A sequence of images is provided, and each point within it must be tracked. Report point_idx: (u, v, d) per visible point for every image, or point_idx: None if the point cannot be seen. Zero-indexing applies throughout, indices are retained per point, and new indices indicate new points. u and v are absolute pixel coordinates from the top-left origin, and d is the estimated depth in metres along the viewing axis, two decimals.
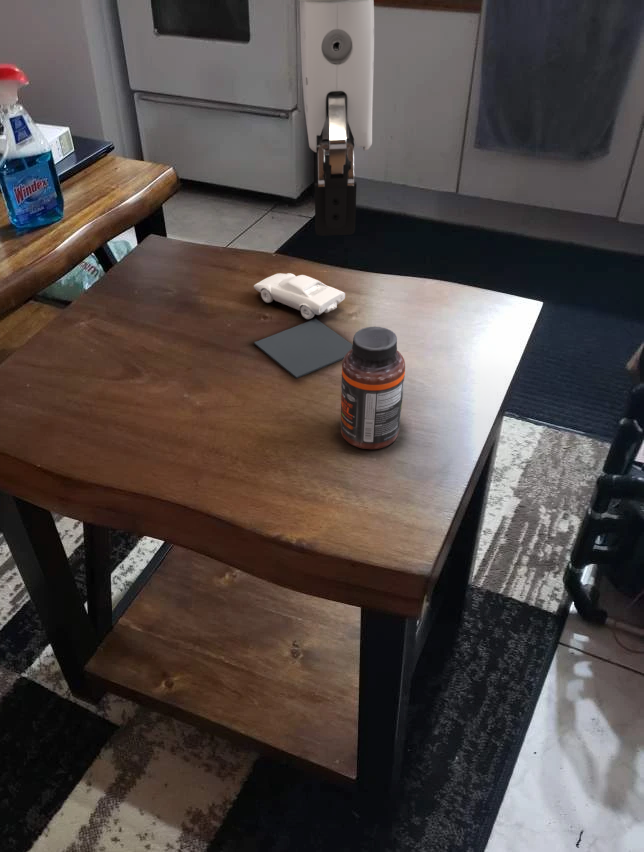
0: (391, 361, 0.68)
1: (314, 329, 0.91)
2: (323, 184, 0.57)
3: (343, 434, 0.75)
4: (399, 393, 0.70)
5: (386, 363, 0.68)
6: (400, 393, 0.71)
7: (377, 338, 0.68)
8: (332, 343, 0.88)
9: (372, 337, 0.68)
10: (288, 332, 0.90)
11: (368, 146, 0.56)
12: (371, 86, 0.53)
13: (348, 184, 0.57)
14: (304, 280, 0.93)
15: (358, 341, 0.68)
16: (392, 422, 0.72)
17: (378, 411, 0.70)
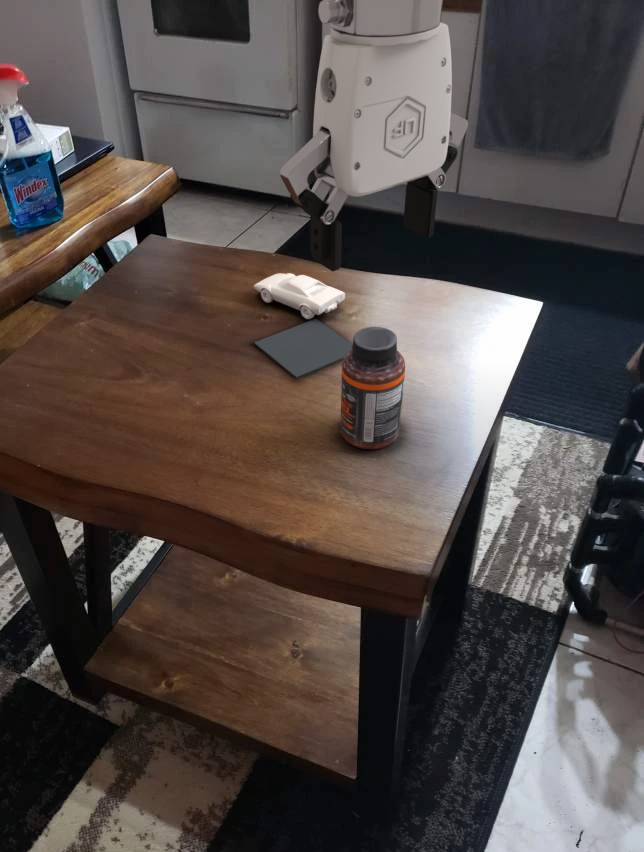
0: (391, 361, 0.68)
1: (314, 329, 0.91)
2: (306, 211, 0.58)
3: (343, 434, 0.75)
4: (399, 393, 0.70)
5: (386, 363, 0.68)
6: (400, 393, 0.71)
7: (377, 338, 0.68)
8: (332, 343, 0.88)
9: (372, 337, 0.68)
10: (288, 332, 0.90)
11: (348, 192, 0.55)
12: (351, 133, 0.52)
13: (320, 220, 0.57)
14: (304, 280, 0.93)
15: (358, 341, 0.68)
16: (392, 422, 0.72)
17: (378, 411, 0.70)
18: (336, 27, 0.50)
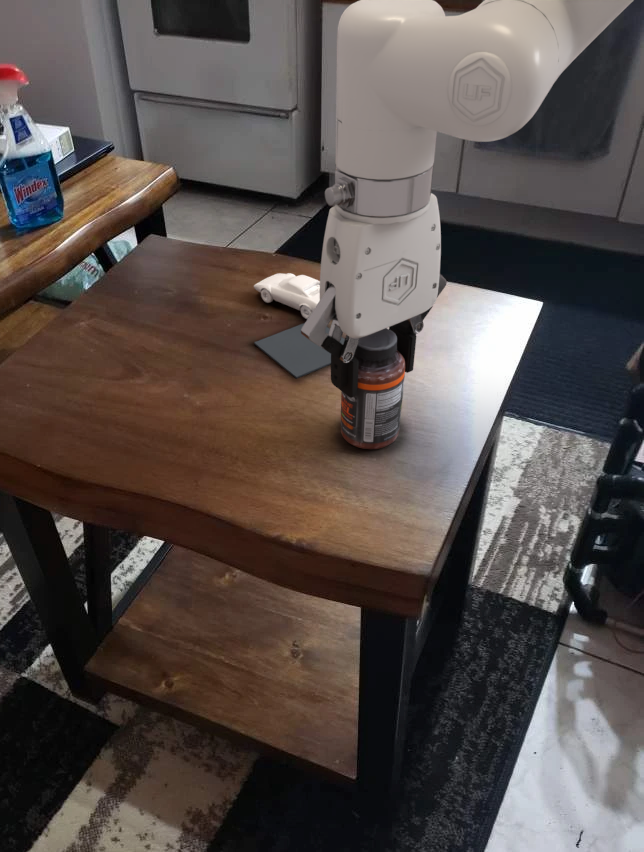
0: (391, 360, 0.68)
1: None
2: None
3: (343, 434, 0.75)
4: (399, 393, 0.70)
5: (386, 362, 0.68)
6: (400, 393, 0.71)
7: (377, 338, 0.68)
8: None
9: (372, 337, 0.68)
10: (288, 332, 0.90)
11: (350, 336, 0.63)
12: (353, 292, 0.60)
13: (341, 360, 0.66)
14: (304, 280, 0.93)
15: None
16: (392, 422, 0.72)
17: (378, 410, 0.70)
18: (340, 205, 0.58)
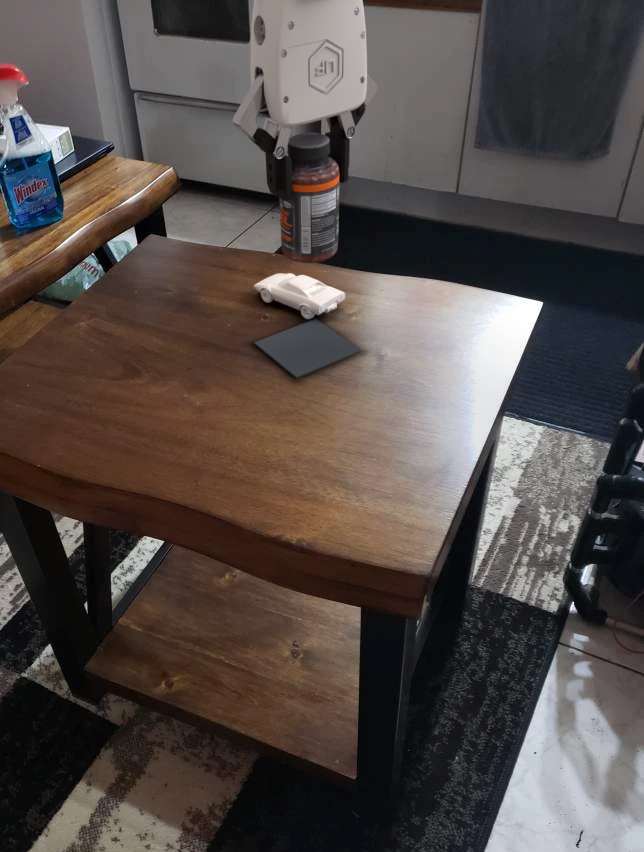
0: (324, 162, 0.71)
1: (314, 329, 0.91)
2: (261, 148, 0.70)
3: (284, 251, 0.77)
4: (334, 200, 0.73)
5: (319, 163, 0.71)
6: (335, 200, 0.73)
7: (310, 140, 0.71)
8: (332, 343, 0.88)
9: (305, 139, 0.71)
10: (288, 332, 0.90)
11: (280, 123, 0.66)
12: (279, 71, 0.63)
13: (274, 156, 0.69)
14: (304, 280, 0.93)
15: (292, 142, 0.70)
16: (329, 232, 0.75)
17: (313, 216, 0.73)
18: None
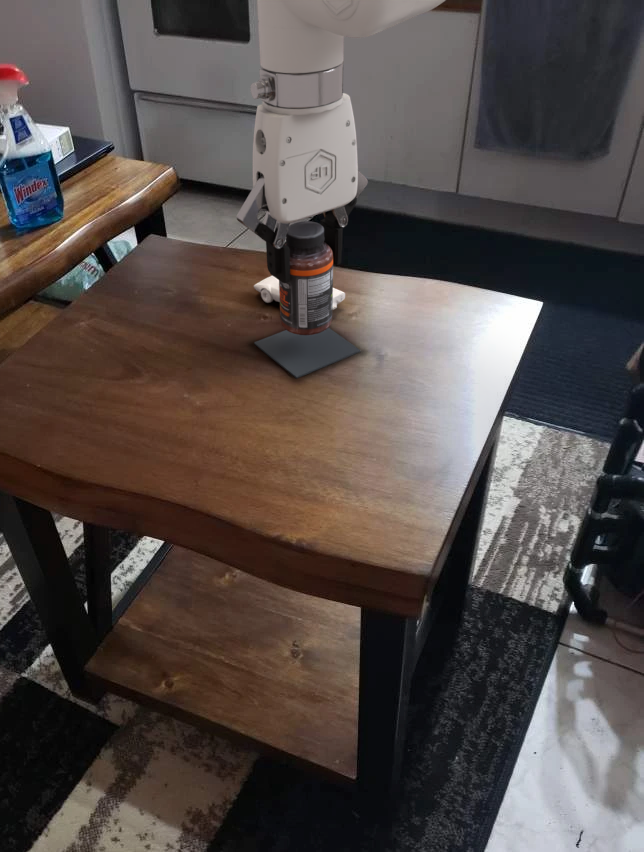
0: (319, 249, 0.78)
1: None
2: (262, 238, 0.77)
3: (282, 323, 0.85)
4: (328, 281, 0.80)
5: (314, 251, 0.78)
6: (329, 281, 0.81)
7: (307, 229, 0.78)
8: (332, 343, 0.88)
9: (302, 228, 0.78)
10: (288, 332, 0.90)
11: (279, 220, 0.73)
12: (278, 177, 0.70)
13: (273, 246, 0.76)
14: None
15: (290, 231, 0.78)
16: (323, 309, 0.82)
17: (309, 296, 0.80)
18: (265, 100, 0.68)
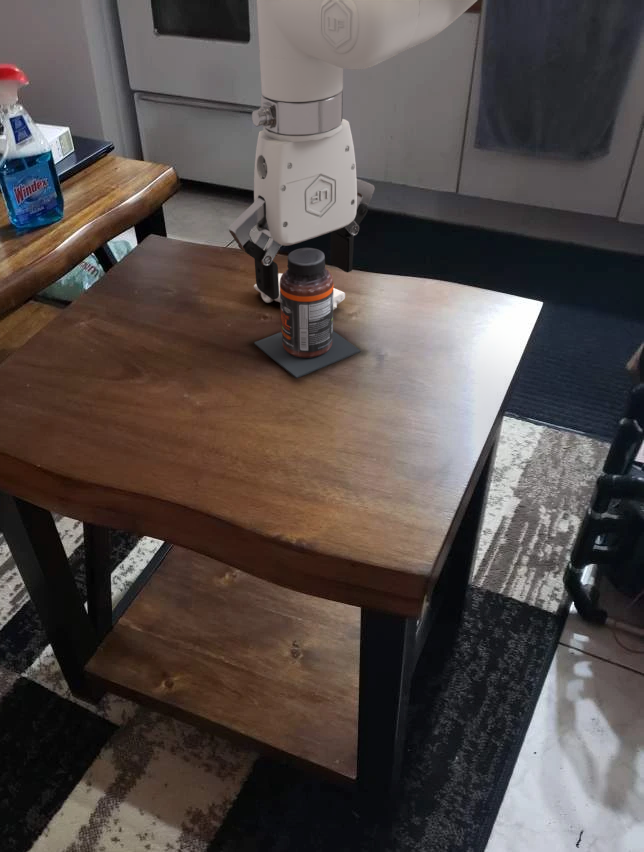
0: (320, 276, 0.80)
1: None
2: None
3: (284, 346, 0.87)
4: (328, 306, 0.82)
5: (315, 277, 0.80)
6: (329, 306, 0.82)
7: (308, 256, 0.80)
8: (332, 343, 0.88)
9: (303, 255, 0.80)
10: None
11: (280, 242, 0.74)
12: (279, 202, 0.72)
13: (261, 262, 0.76)
14: None
15: (291, 258, 0.80)
16: (324, 332, 0.84)
17: (310, 321, 0.82)
18: (266, 127, 0.70)
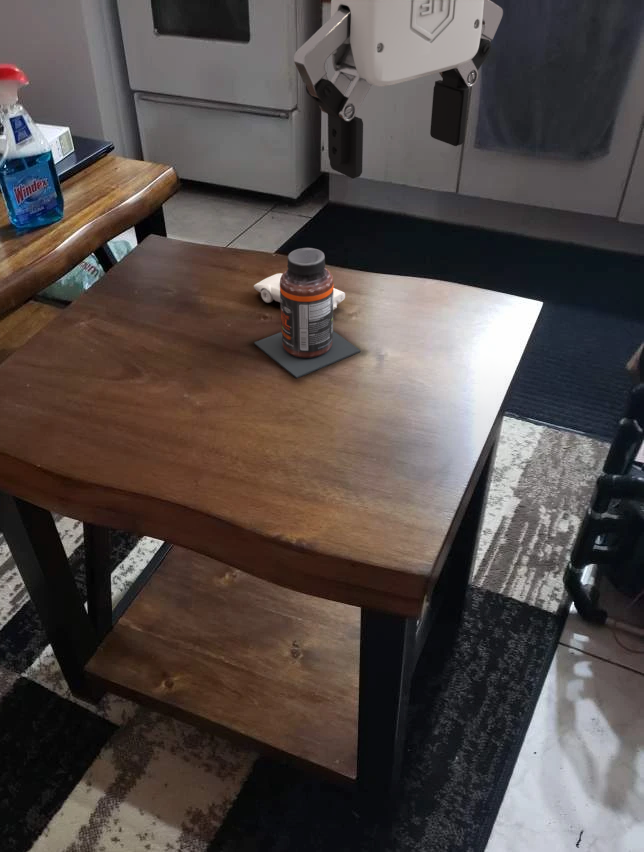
0: (320, 276, 0.80)
1: None
2: (323, 108, 0.52)
3: (284, 346, 0.87)
4: (328, 306, 0.82)
5: (315, 277, 0.80)
6: (329, 306, 0.82)
7: (308, 256, 0.80)
8: (332, 343, 0.88)
9: (303, 255, 0.80)
10: None
11: (370, 80, 0.49)
12: (373, 7, 0.47)
13: (339, 115, 0.51)
14: None
15: (291, 258, 0.80)
16: (324, 332, 0.84)
17: (310, 321, 0.82)
18: None
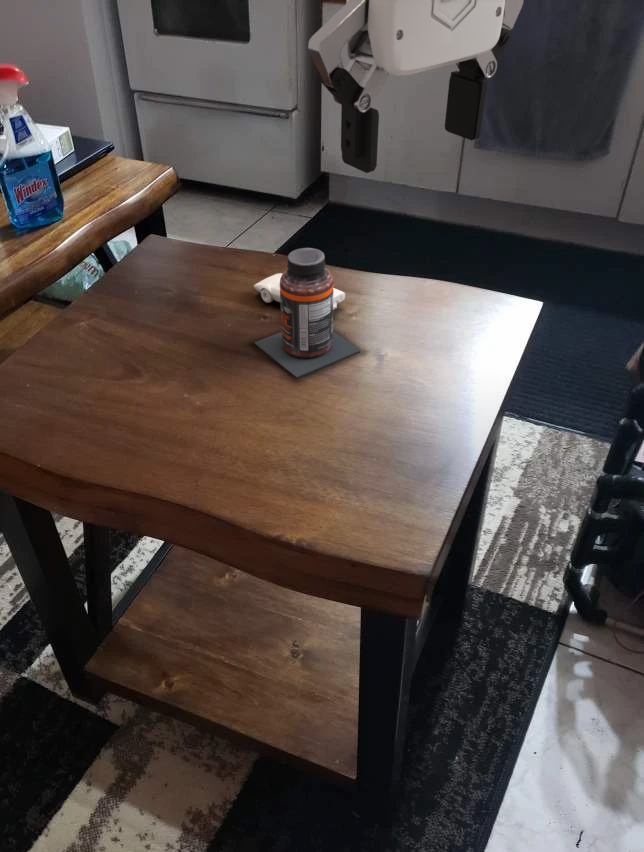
0: (320, 276, 0.80)
1: None
2: (336, 98, 0.50)
3: (284, 346, 0.87)
4: (328, 306, 0.82)
5: (315, 277, 0.80)
6: (329, 306, 0.82)
7: (308, 256, 0.80)
8: (332, 343, 0.88)
9: (303, 255, 0.80)
10: None
11: (388, 69, 0.47)
12: None
13: (354, 106, 0.49)
14: None
15: (291, 258, 0.80)
16: (324, 332, 0.84)
17: (310, 321, 0.82)
18: None
